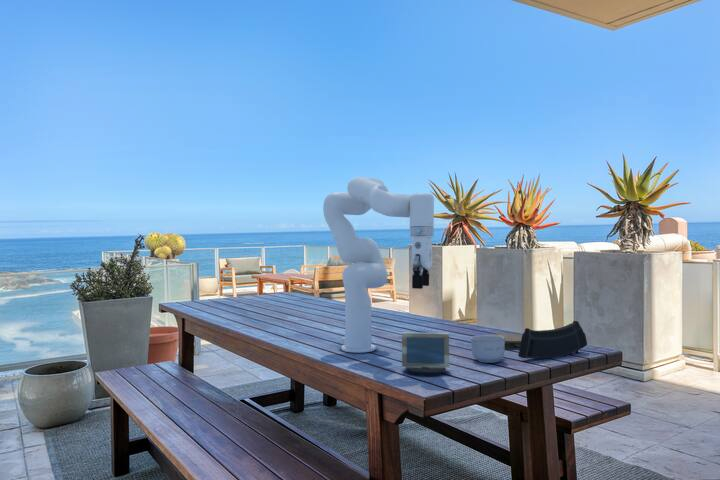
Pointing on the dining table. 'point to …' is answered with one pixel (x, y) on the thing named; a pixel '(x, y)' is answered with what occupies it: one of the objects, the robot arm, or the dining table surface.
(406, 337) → the frame
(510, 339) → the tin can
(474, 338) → the teacup
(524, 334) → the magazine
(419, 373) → the stand
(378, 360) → the dining table surface
